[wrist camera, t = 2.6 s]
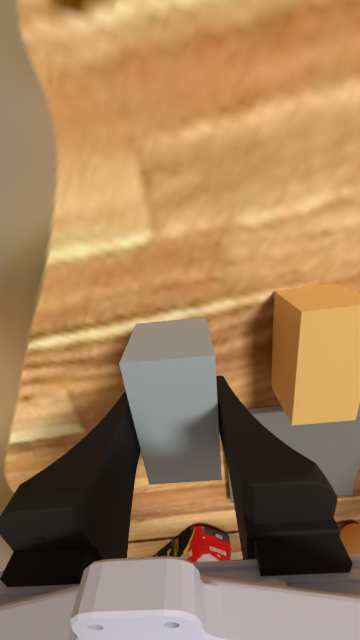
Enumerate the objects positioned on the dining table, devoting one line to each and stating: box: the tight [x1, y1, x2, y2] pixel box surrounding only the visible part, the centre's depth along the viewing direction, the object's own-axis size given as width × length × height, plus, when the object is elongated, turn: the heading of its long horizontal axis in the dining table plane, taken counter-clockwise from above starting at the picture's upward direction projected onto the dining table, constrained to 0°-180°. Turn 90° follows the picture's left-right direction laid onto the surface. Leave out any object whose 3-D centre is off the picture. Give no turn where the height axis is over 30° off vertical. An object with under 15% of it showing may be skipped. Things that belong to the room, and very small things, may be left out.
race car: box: [153, 526, 231, 562], centre depth 27 cm, size 13×5×4 cm, turn 146°
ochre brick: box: [271, 283, 360, 425], centre depth 15 cm, size 4×8×4 cm, turn 7°
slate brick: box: [119, 317, 222, 484], centre depth 13 cm, size 4×8×4 cm, turn 6°
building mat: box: [227, 404, 360, 503], centre depth 21 cm, size 12×12×1 cm
